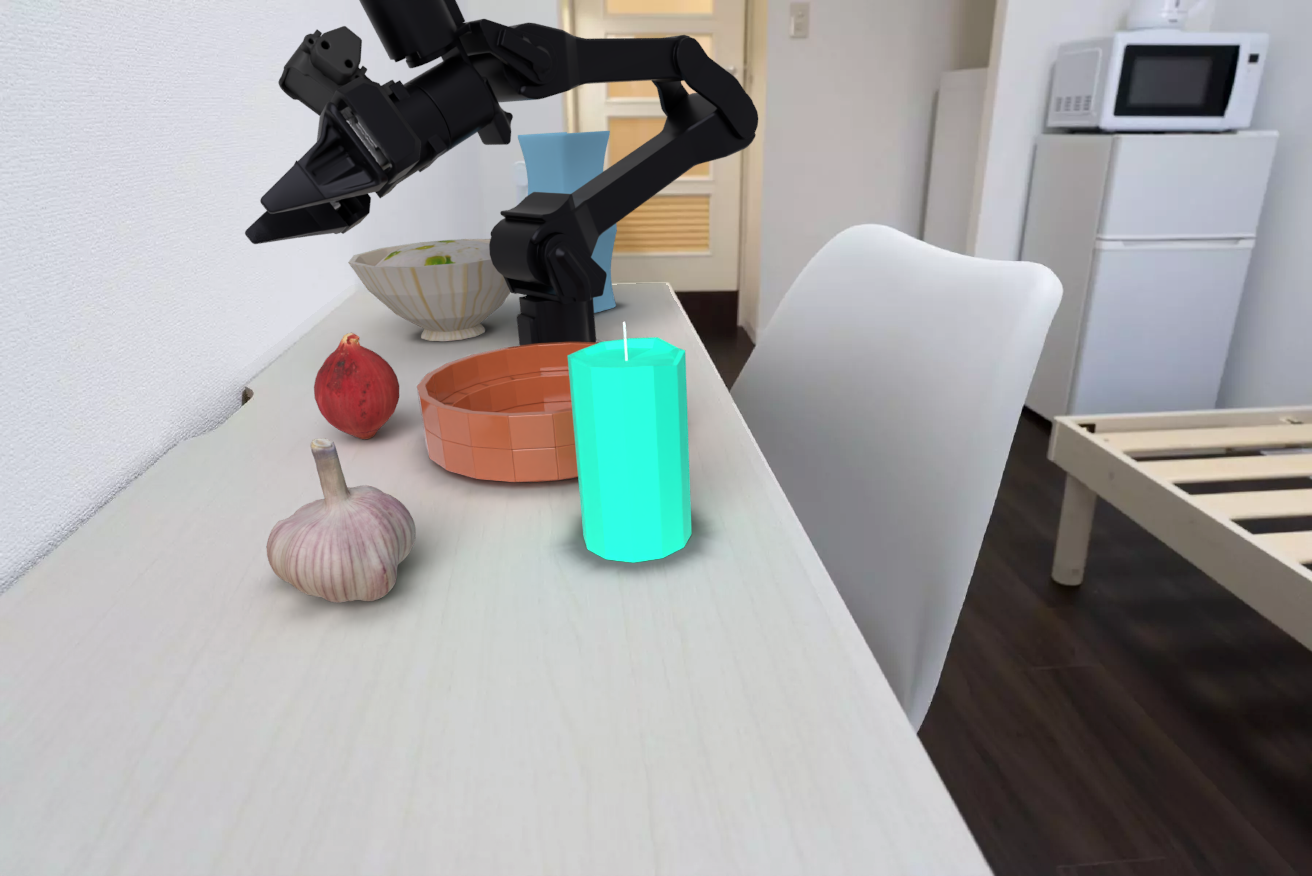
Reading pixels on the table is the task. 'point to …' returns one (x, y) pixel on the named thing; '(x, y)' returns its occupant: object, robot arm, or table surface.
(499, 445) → the terracotta bowl
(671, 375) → the candle
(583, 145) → the vase
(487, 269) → the bowl
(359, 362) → the onion
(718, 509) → the table surface
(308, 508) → the garlic bulb
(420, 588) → the table surface
